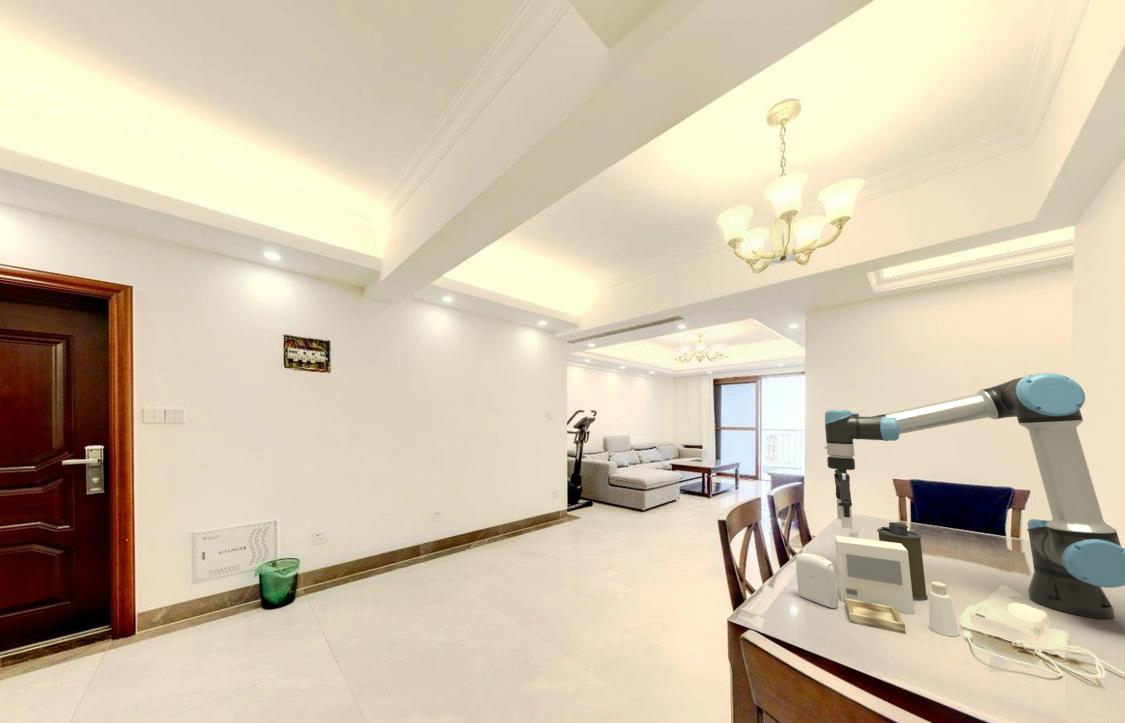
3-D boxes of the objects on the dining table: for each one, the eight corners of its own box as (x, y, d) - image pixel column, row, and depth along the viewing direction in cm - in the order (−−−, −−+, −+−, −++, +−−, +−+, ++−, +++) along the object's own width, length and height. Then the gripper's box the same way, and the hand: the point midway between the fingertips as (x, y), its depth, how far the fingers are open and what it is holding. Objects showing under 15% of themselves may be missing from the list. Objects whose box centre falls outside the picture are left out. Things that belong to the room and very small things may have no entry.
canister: (937, 601, 117) (929, 528, 120) (900, 600, 117) (893, 527, 120) (906, 586, 128) (900, 519, 131) (873, 585, 128) (867, 518, 131)
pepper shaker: (960, 639, 96) (954, 589, 97) (929, 631, 99) (923, 583, 101) (958, 631, 100) (953, 583, 101) (929, 623, 103) (924, 577, 105)
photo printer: (795, 595, 119) (792, 550, 121) (805, 593, 121) (802, 549, 123) (831, 610, 110) (828, 561, 112) (841, 607, 112) (837, 559, 114)
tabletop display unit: (906, 602, 116) (900, 543, 118) (914, 615, 108) (908, 551, 110) (838, 590, 123) (834, 534, 126) (842, 601, 116) (837, 541, 118)
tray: (895, 615, 108) (894, 607, 108) (905, 633, 98) (904, 624, 98) (845, 605, 113) (844, 598, 113) (850, 622, 103) (849, 613, 104)
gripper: (824, 453, 148) (828, 514, 145) (830, 458, 127) (834, 530, 124) (849, 455, 145) (853, 517, 141) (859, 460, 123) (865, 534, 120)
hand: (844, 523), depth 133 cm, fingers open, 13 cm apart
